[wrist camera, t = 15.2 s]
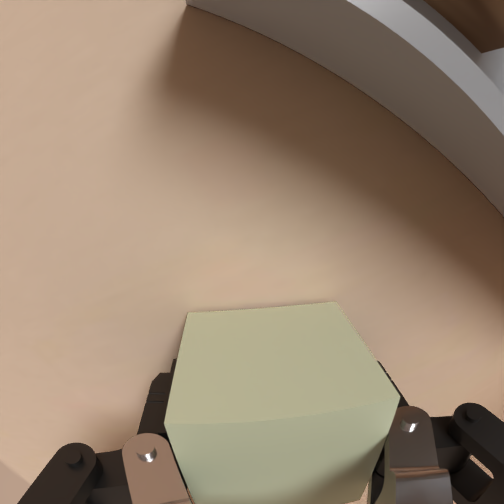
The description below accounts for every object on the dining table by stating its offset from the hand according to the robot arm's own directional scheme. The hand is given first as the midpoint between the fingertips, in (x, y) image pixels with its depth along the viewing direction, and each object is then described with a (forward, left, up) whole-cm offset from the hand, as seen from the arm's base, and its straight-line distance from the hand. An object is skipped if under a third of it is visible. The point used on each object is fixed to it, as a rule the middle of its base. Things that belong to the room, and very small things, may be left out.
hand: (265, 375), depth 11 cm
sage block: (0, 0, 0) cm, 0 cm away
